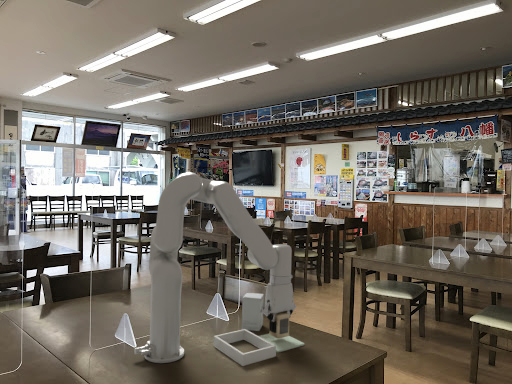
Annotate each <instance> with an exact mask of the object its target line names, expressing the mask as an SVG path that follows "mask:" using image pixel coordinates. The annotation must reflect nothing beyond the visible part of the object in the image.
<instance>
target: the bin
mask: <svg viewBox="0 0 512 384" xmlns="http://www.w3.org/2000/svg"><path fill="white" fill-rule="evenodd" d="M259 336H260V335H257V334H255V333H254V332H251V330H246V329H239V330H235V331H230V332H226V333H222V334H217V335H213V347H214V348H216V349H217V350H219V351H220V352H222V353H223V354H224V355H226V356H227V357H229V358H230V359H231V360H233V361H234V362H236V363H237V364H239V365H240V366H242V367H244V366H248V365H252V364H254V363H258V362H261V361H265V360H268V359H272V358H275V357H276V355H277V352H276V346H275V345H273V344H272V343H270V342H268V341H266V340H264V339H263V338H261V337H259ZM243 340H244V341H246V342H248V343H249V344H251V345H252V346H254V347H256V348H258V349H255V350H251V351H247V352H242V351H241V350H239V349H238V348H236V347H235V346H234V345H231V344H232V343H237V342H241V341H243Z"/></svg>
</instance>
